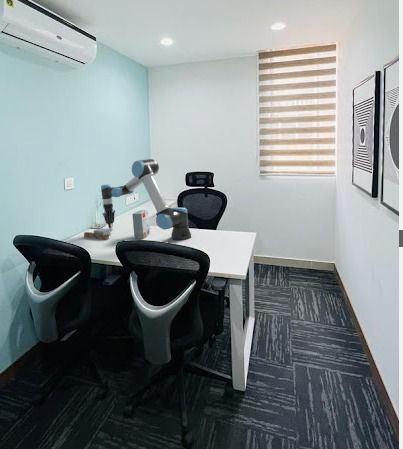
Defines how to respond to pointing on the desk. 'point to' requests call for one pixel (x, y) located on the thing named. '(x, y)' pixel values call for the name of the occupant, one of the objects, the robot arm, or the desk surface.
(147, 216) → the hard drive box
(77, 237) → the desk surface
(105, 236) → the walnut stop board
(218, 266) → the desk surface
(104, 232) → the slate block
